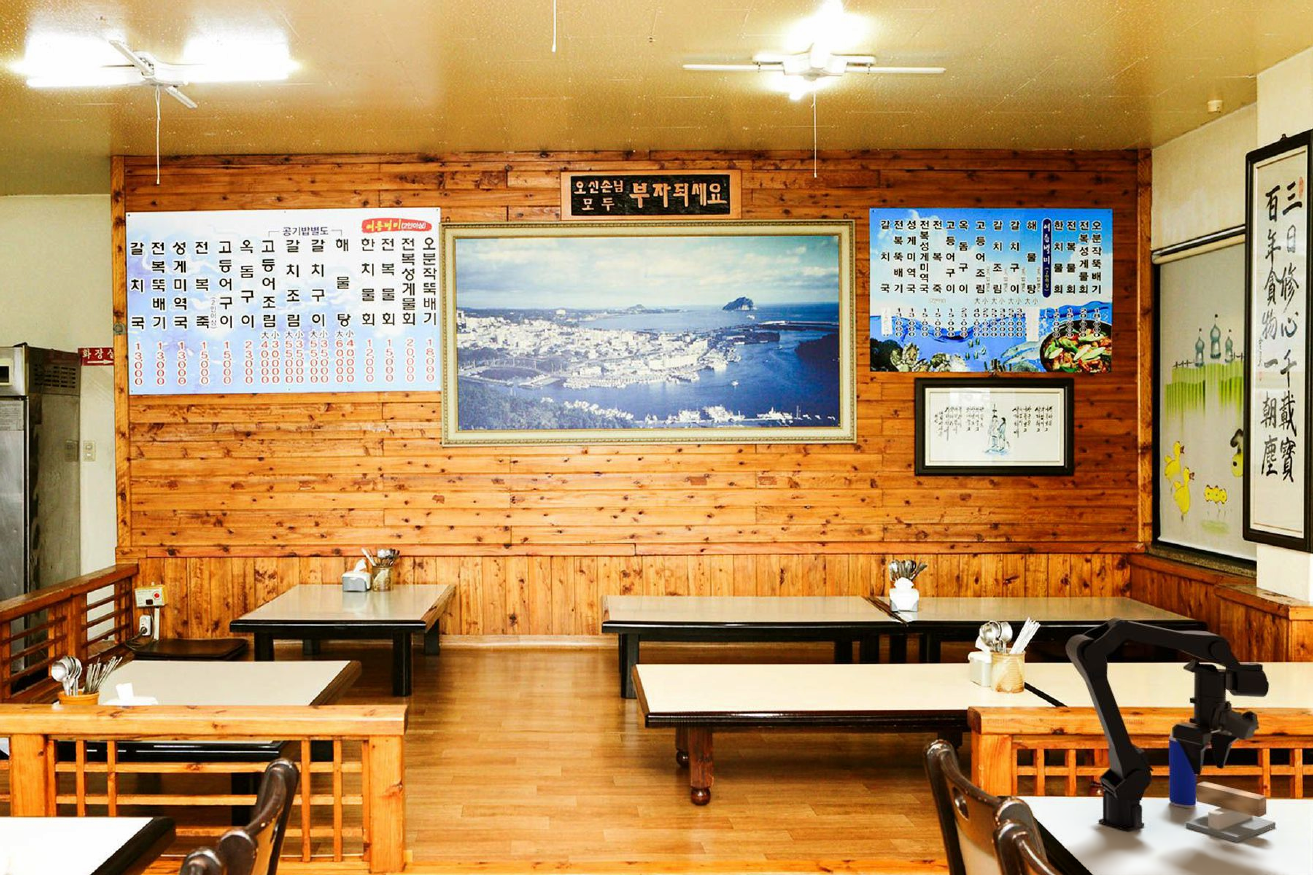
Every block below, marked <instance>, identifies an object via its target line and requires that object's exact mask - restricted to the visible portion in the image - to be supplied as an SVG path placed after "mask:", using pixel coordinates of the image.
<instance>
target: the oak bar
mask: <svg viewBox="0 0 1313 875" xmlns="http://www.w3.org/2000/svg"><path fill="white" fill-rule="evenodd" d="M1197 802H1198V803H1201V804H1205V805H1209V806H1213V807H1216V808H1217V807H1218V808H1224V809H1228V810H1232V811H1236V812H1240V813H1244V814H1248V815H1252V816H1254V817H1258V818H1262V817H1263V816H1265V815H1267V796H1266V795H1262V794H1257V793H1253V792H1249V791H1246V790H1241V789H1238V788H1232V787H1228V786H1224V785H1221V784H1216V783H1212V782H1208V781H1201V782H1199V783H1196V803H1197Z"/></svg>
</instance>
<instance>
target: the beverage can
mask: <svg viewBox="0 0 1313 875" xmlns="http://www.w3.org/2000/svg"><path fill="white" fill-rule="evenodd" d="M1168 748H1169V749H1168V761H1169V762H1168V765H1169V766H1168V769H1169V772H1168V773H1169V774H1168V776H1169V777H1168V779H1169V780H1168V782H1169V783H1168V784H1169V785H1168V786H1169V787H1168V788H1169V790H1168V791H1169V798H1168V799H1169V802H1170V803H1171V805H1173V806H1175V807H1178V808H1185V809H1191V808H1194V807H1195V806H1196V805H1197V798H1196V784H1197V775H1196V774H1194V772H1193V770H1192V768H1191V765H1190V763H1189V761H1188V759H1187V757H1186V755H1185V753H1184V751H1183V749H1182V748H1181V746H1180V744H1179V742H1177V741H1176V738H1173V737H1172V732H1171V733H1170V735H1169V738H1168Z"/></svg>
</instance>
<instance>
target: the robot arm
mask: <svg viewBox="0 0 1313 875" xmlns="http://www.w3.org/2000/svg"><path fill="white" fill-rule="evenodd" d="M1126 640H1130V641H1135V642H1138V643H1142V644H1143V643H1145V644H1148V645H1149V644H1150V645H1152V646H1153V645H1154V646H1159V647H1163V648H1167V649H1168V648H1169V649H1173V650H1177V651H1181V652H1184V653H1186V654H1189V655H1191V656H1193V657H1196V658H1199V659H1201V660H1204V661H1207V662H1209V663H1200V661H1198V660H1196V659H1191V660H1190V661H1189V662H1188V663H1186V664H1185V665H1183V670H1185V671H1187V672H1189V673H1191V674H1192V673H1194V675H1193V676H1194V678H1193V679H1194V683H1193V684H1194V687H1193V690H1194V691H1193V697H1189V704H1193V717H1189V722H1181V723H1176V724H1175V725H1174V726H1172V727H1171V733H1172V737H1173V738H1176V741H1177V742H1179V744H1180V746H1181V748H1182V749H1183V751H1184V753H1185V755H1186V757H1187V759H1188V761H1189V763H1190V765H1191V768H1192V770H1193V772H1194V774H1196V776H1201V775H1202V770H1203V765H1204V758H1205V757H1204V756H1205V751H1206V750H1207V749H1208V748H1209V747H1210V748H1211V751H1212V755H1213V759H1214V762H1215V765H1216V768H1217V769H1221V770H1223V769H1224V768H1225V765H1226V762H1227V760H1228V759H1227V758H1228V756H1229V753H1230V752H1231V751H1230V750H1231V749H1232V746H1233V743H1235V742H1237V741H1238V740H1241V741H1245V740H1247V739H1252V738H1254V734H1255V732H1256V731H1259V730H1260V726H1259V724H1260V723H1259V720H1258V714H1257V713H1255V712H1254V711H1251V710H1247V711H1245V712H1244V713H1242V712H1240V711H1239V712H1238V711H1235V710H1234V709H1232V708H1233V707H1232V703H1231V701H1230V700H1226V699H1227V691H1228V692H1229V693H1230V695H1232V696H1233V697H1251V698H1252V697H1254V698H1264V697H1266V696H1267V694H1268V693H1269V690H1270V689H1269V688H1270V687H1269V686H1270V683H1269V681H1268V677H1267V675H1266V673H1265V671H1264V666H1263V664H1262V663H1260V662H1248V663H1247V662H1240V661H1239V660H1238V659H1237V657H1236V655H1235V654H1234V653H1233V652H1232V646H1231V643H1230V642H1229V640H1228V638H1226V637H1224V636H1222V635H1218V634H1216V633H1212V632H1210V631H1203V630H1175V629H1174V630H1173V629H1168V628H1164V627H1161V626H1155V625H1150V624H1144V623H1139V622H1135V621H1131V620H1126V619H1124V618H1120V617H1112V618H1111V619H1109V620H1107V621H1106V622H1104V623H1103V624H1100V625H1098V626H1095V627H1093V628H1091V629H1089V630H1087V631H1086V632H1085V631H1084V633H1082V634H1076V635H1075V634H1074V635H1073V636H1071V637H1070V638H1069V639H1068V640H1067V643H1066V645H1065V651H1066V654H1067V656H1068V658H1069V659H1070V661H1071V663H1072V665H1073V667H1074V668H1075V669H1076V670H1077V672H1078V674H1080V677H1081V678H1082V679H1083V681H1084V682H1085V685H1086V688H1087V690H1088V693H1089V696H1090V698H1091V701H1092V704H1093V707H1094V709H1095V712H1096V714H1097V716H1098V717H1097V718H1098V719H1099V723H1100V725H1101V728H1102V731H1103V732H1104V736H1105V738H1106V742H1107V744H1108V761H1109V768H1108V769H1107V770H1105V772H1104V773H1103V774H1101V775H1100V776H1099V778H1098V780H1099V783H1100V786H1101V787H1102V788H1103V789H1104V790H1102V818H1101V819H1098V823H1099V824H1102V825H1106V826H1109V827H1111V828H1116V829H1119V830H1122V831H1125V832H1130V831H1133V830H1137V829H1139V828H1142V827H1145V823H1144V822H1143V806H1142V805H1141V801H1142V799H1143V796H1144V794H1145V791H1146V790H1147V789H1148V787H1149V786H1150V785H1151V783H1152V781H1153V775H1152V772H1154V769H1153V768H1152V766H1151V764H1150V763H1149V757H1148V755H1147V754H1148V753H1147V751H1146V750H1144V749H1142V748H1141V747H1139V746H1138V745H1137V744H1133V743H1132V741H1131V738H1130V735H1129V732H1128V729H1127V728H1126V724H1125V721H1124V719H1123V716H1122V714H1121V711H1120V708H1119V705H1118V703H1117V700H1116V697H1115V695H1114V692H1113V690H1112V687H1111V685H1110V681H1109V679H1108V666H1109V665H1108V660H1107V656H1109V655H1110V654H1111V653H1113V652H1114V651H1115V650H1117V648H1118V647H1119V646H1120V645H1121V644H1122V643H1123V642H1124V641H1126ZM1215 664H1216V665H1218V666H1221V667H1224V668H1218V667H1217V666H1216V665H1215Z"/></svg>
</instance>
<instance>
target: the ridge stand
mask: <svg viewBox="0 0 1313 875" xmlns="http://www.w3.org/2000/svg"><path fill="white" fill-rule="evenodd" d="M1275 826H1276V822H1275V821H1272V820H1268V819H1265V818H1262V817H1256V816H1252V815H1248V814H1244V813H1240V812H1236V811H1232V810H1228V809H1224V808H1220V807H1218V808H1216V809H1212V810H1211V811H1210V810H1209V811H1208V812H1207V814H1206V815H1203V816H1200V817H1197V818H1194V819H1191V820H1189V821H1186V822H1185V828H1187V829H1191V830H1194V831H1197V832H1202V833H1203V834H1207V835H1211V836H1215V837H1217V838H1222V839H1224V840H1229V841H1231V842H1235V843H1239V842H1242V841H1244V840H1246V839H1248V838H1251V836H1252V837H1255V836H1256V834H1257V835H1259V834H1261V832H1262V833H1264V832H1263V831H1265V832H1267V831H1269V830H1268V829H1270V828H1272V829H1274V828H1273V827H1275ZM1275 828H1276V827H1275ZM1270 830H1271V829H1270Z"/></svg>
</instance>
